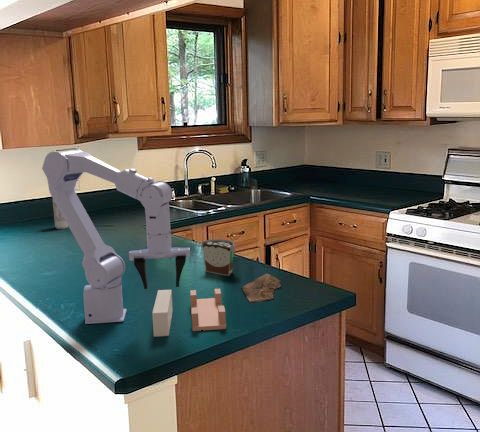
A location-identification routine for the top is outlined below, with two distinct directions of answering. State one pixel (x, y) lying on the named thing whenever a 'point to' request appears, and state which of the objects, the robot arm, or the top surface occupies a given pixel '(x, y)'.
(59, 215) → the energy drink can
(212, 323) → the rack
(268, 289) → the wooden fragment
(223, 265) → the food container
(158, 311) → the strip
